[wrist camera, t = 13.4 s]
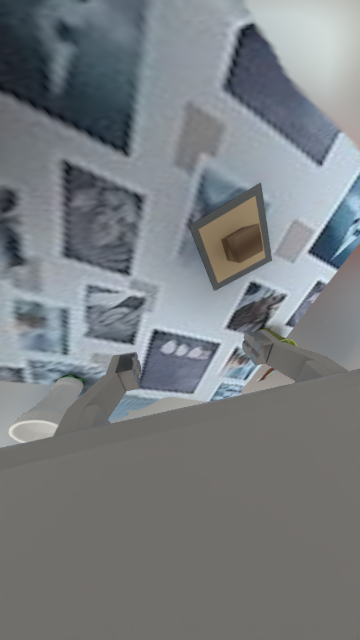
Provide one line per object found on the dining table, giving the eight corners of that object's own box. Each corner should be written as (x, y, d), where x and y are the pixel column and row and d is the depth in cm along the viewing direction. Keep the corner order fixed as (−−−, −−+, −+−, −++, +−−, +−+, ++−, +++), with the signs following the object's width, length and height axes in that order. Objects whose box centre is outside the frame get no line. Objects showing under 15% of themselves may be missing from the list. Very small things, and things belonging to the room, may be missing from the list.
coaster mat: (189, 225, 29) (189, 225, 29) (259, 183, 27) (260, 182, 27) (214, 290, 36) (214, 290, 36) (271, 260, 35) (271, 260, 34)
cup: (61, 364, 41) (19, 415, 28) (97, 378, 45) (74, 428, 33) (45, 385, 44) (0, 440, 31) (80, 397, 48) (53, 448, 36)
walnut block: (220, 239, 31) (233, 237, 25) (241, 227, 30) (259, 223, 25) (227, 260, 33) (240, 263, 28) (246, 250, 32) (263, 250, 27)
